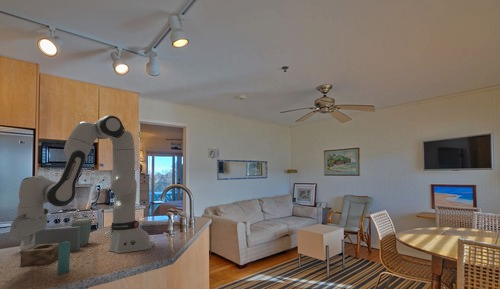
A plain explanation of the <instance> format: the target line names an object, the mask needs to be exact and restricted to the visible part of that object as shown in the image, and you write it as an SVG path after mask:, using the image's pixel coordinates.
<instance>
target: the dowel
mask: <svg viewBox="0 0 500 289" xmlns="http://www.w3.org/2000/svg"><path fill="white" fill-rule="evenodd" d="M70 256H71V251H70V241H65V242H60V243H59V248H58V259H57V274H58V275H64V274H67V273H69V271H70V260H71V258H70Z"/></svg>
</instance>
